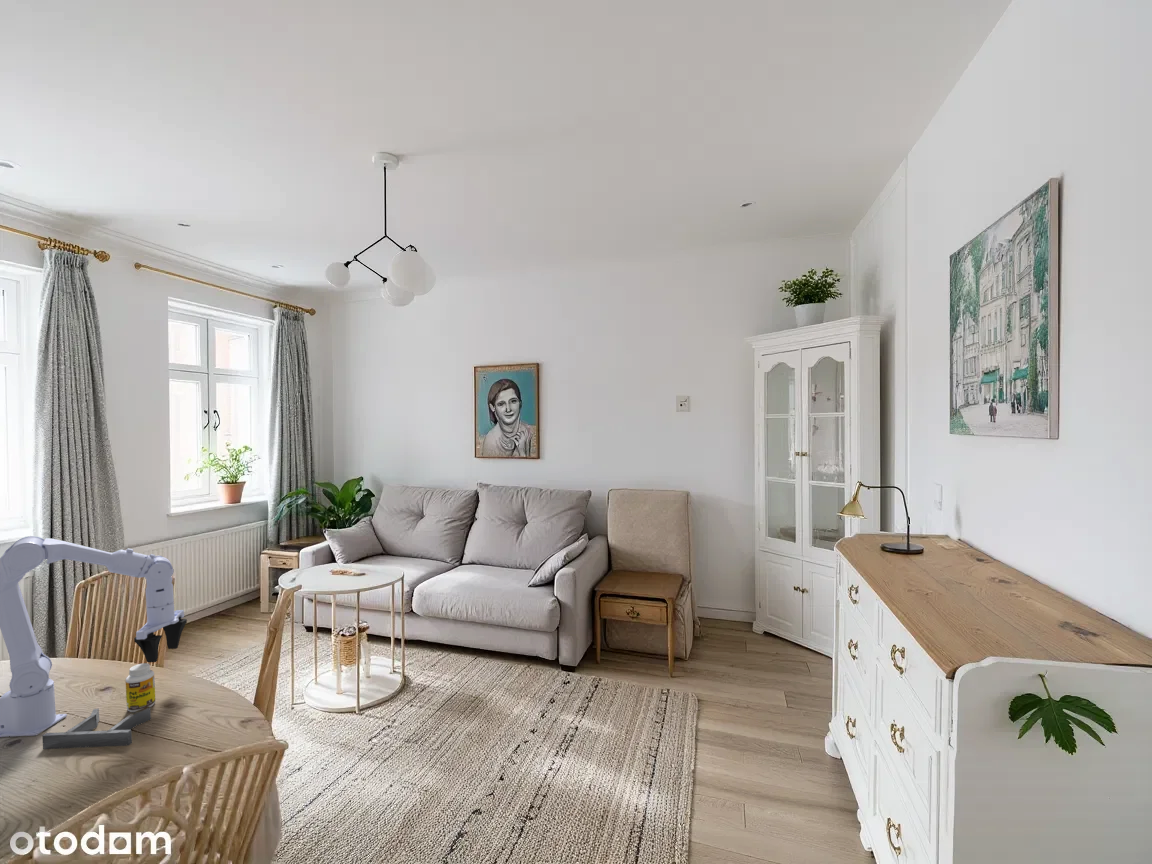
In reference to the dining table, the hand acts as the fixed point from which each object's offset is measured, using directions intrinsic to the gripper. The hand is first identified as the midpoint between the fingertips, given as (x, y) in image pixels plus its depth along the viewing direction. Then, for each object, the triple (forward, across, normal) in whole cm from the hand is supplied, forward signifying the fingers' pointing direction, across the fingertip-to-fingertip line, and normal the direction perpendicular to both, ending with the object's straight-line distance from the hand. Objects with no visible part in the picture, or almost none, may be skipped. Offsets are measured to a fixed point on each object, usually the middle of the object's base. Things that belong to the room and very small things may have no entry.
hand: (162, 654), depth 141 cm
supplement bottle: (+10, -8, 0) cm, 12 cm away
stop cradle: (+9, -19, 0) cm, 21 cm away
